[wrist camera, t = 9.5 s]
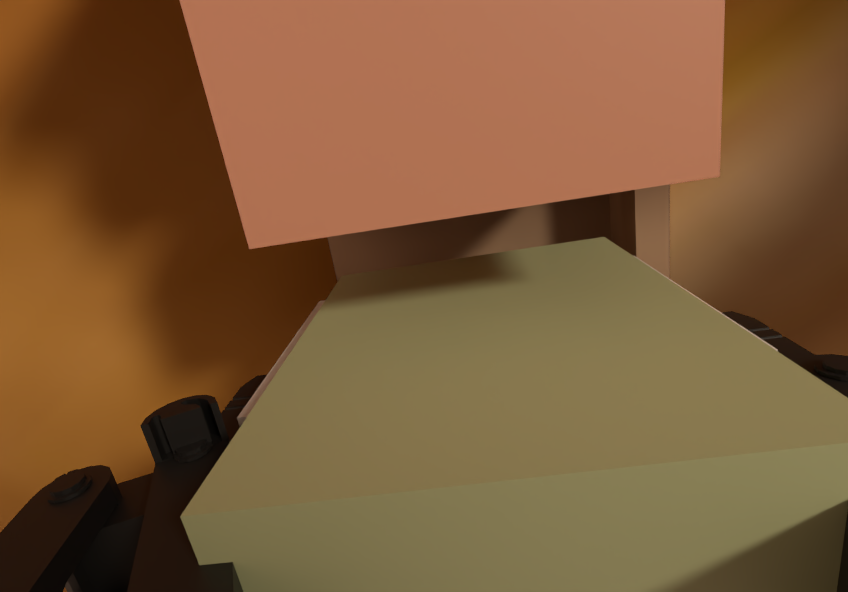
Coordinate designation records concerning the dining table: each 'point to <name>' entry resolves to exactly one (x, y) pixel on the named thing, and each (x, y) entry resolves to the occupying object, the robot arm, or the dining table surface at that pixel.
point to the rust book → (452, 105)
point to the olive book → (530, 441)
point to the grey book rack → (517, 232)
